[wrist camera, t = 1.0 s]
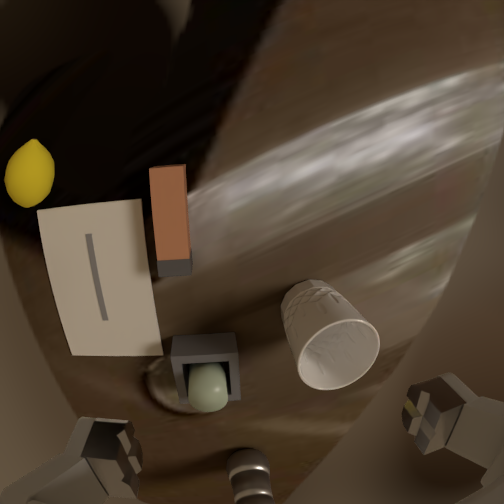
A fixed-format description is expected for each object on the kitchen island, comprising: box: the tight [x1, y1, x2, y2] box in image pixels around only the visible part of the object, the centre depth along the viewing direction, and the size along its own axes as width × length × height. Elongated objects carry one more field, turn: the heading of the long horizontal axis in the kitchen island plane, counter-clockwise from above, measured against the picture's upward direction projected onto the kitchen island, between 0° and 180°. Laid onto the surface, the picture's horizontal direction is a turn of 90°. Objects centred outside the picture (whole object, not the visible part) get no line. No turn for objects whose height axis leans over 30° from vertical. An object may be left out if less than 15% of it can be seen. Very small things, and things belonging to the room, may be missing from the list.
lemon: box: [4, 139, 54, 208], centre depth 25 cm, size 7×5×5 cm
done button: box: [188, 361, 228, 412], centre depth 32 cm, size 4×4×5 cm
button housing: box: [170, 332, 241, 404], centre depth 35 cm, size 7×7×4 cm
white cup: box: [281, 280, 380, 390], centre depth 31 cm, size 8×8×10 cm
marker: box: [149, 164, 193, 277], centre depth 29 cm, size 10×3×3 cm, turn 1°
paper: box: [37, 199, 164, 356], centre depth 32 cm, size 18×12×1 cm, turn 1°
